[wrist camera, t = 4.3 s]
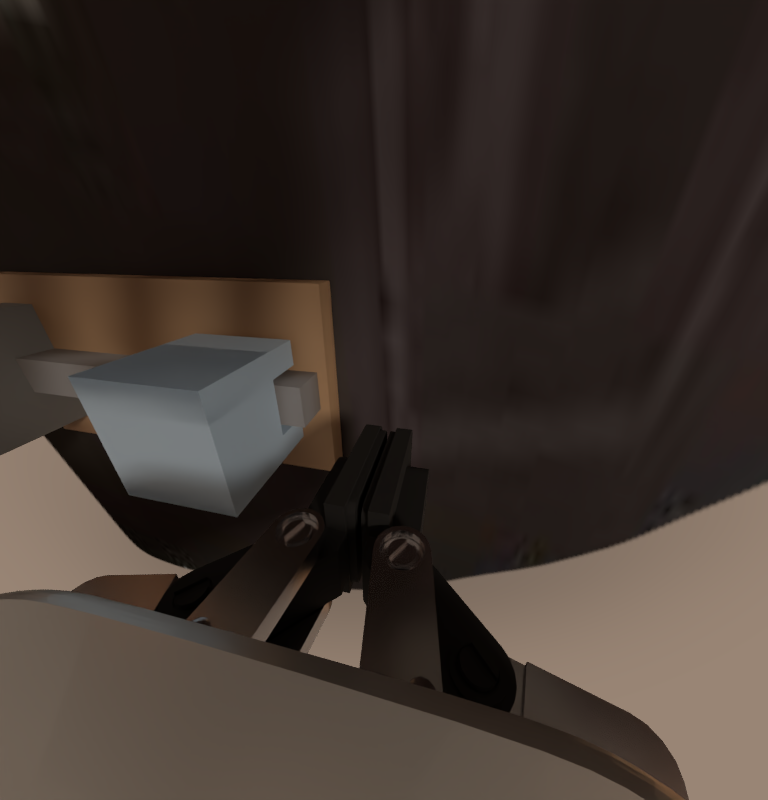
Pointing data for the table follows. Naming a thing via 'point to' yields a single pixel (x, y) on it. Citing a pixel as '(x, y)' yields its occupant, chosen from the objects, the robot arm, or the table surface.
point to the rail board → (182, 316)
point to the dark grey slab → (12, 393)
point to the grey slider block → (193, 419)
